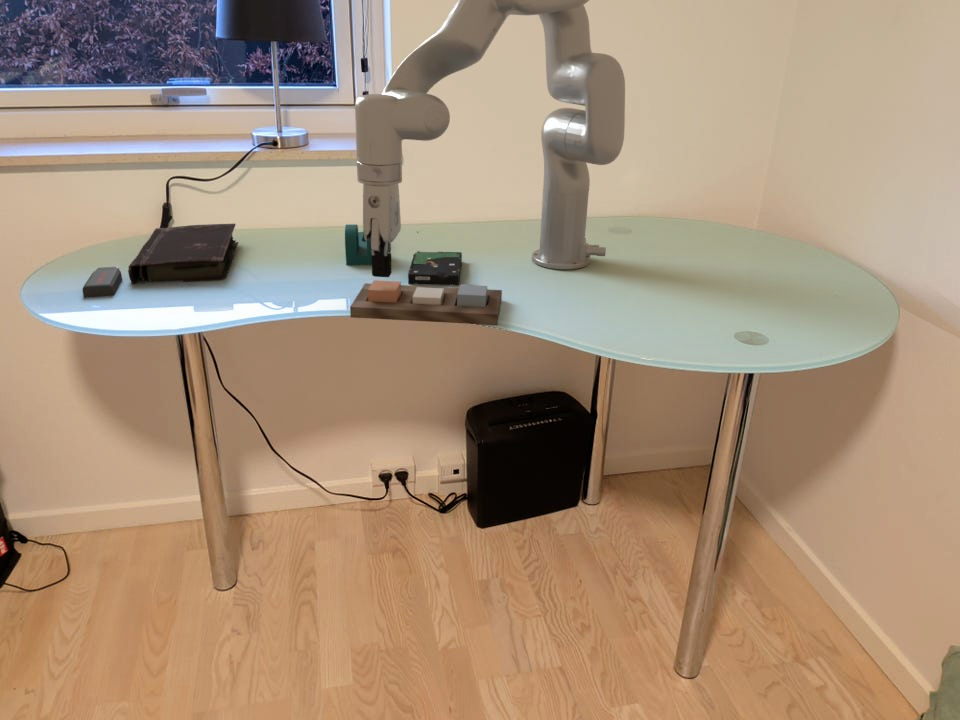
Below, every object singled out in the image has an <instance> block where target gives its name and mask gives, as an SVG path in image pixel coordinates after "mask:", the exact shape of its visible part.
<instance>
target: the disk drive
mask: <svg viewBox="0 0 960 720" xmlns="http://www.w3.org/2000/svg"><path fill="white" fill-rule="evenodd" d="M462 260H463V253H462V252H461V251H459V252H457V251H435V252H434V251H430V252H429V251H419V250H417V251H416V252H414V254H413V255H412V260H411V263H410V267H409V269H408V274H407V277H408V278H407V280H408V285H421V286H427V285H428V286H429V285H430V286H460V285H461V284H460V283H461V273H462V272H461V271H462V265H463V264H462V263H463V262H462Z"/></svg>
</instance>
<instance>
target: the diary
mask: <svg viewBox="0 0 960 720" xmlns="http://www.w3.org/2000/svg"><path fill="white" fill-rule="evenodd" d="M236 225H237V224H236V223H214V224H213V223H212V224H211V223H210V224H209V223H206V224H193V225H179V226H169V227H161V228H160V227H158V228H157V227H156V228H154V230H153V232H152V233H151V234H150V236H149V238H148V239H147V241H146V242H145V243H144V244H143V246H142V247H141V249H140V251H139V252H138V254H137V256H135V258H134V259H133V261H131V262H130V264H129V265H128V270H127V272H128V278H129V280H130V283H131V284H132V285H136V283H137V281H138V280H139V279H140V278H141V280H142V282H143V283H146V282H148V280H149V282H150V283H153V282H158V283H159V282H176V281H177V282H178V281H179V282H181V281H182V283H193V282H195V283H196V282H218V281H223V280H226V279H227V276H228V274H229V272H230V268H231V265H232V262H233V261H234V257H235V254H234V252H235V250H237V248H238V245H239V242H237V240H234V237H233V233H234V230H235V228H236Z"/></svg>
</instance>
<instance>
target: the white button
mask: <svg viewBox="0 0 960 720" xmlns="http://www.w3.org/2000/svg"><path fill="white" fill-rule="evenodd" d="M412 298H413V304H429V305H443V303H444V288H426V287H417V288H416V290H415V292H414V295H413V297H412Z"/></svg>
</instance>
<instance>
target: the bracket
mask: <svg viewBox="0 0 960 720" xmlns="http://www.w3.org/2000/svg"><path fill="white" fill-rule="evenodd" d="M344 249H345V264H346V266H372V251H371V240H370V241H369V242H367V241H366V240H365V239H364V232H363V231H359V227H358V224H345V227H344Z"/></svg>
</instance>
